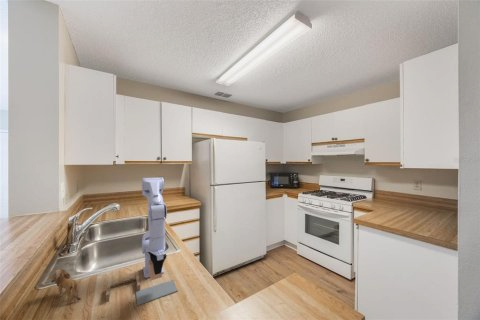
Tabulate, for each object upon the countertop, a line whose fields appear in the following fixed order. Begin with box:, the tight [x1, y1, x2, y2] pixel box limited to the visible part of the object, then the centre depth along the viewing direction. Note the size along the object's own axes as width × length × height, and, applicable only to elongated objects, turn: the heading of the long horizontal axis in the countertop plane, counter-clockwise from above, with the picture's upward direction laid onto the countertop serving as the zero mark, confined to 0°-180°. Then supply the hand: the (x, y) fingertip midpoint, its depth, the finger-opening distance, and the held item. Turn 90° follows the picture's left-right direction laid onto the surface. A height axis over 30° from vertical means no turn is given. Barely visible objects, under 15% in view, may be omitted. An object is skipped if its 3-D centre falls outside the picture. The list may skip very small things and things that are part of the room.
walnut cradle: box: [105, 274, 141, 303], centre depth 76 cm, size 9×11×2 cm
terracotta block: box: [148, 260, 163, 282], centre depth 74 cm, size 4×4×6 cm
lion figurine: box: [48, 268, 82, 305], centre depth 72 cm, size 15×5×9 cm, turn 72°
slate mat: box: [135, 279, 178, 306], centre depth 74 cm, size 8×14×1 cm, turn 122°
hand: (156, 270), depth 74 cm, fingers closed on terracotta block, 4 cm apart
